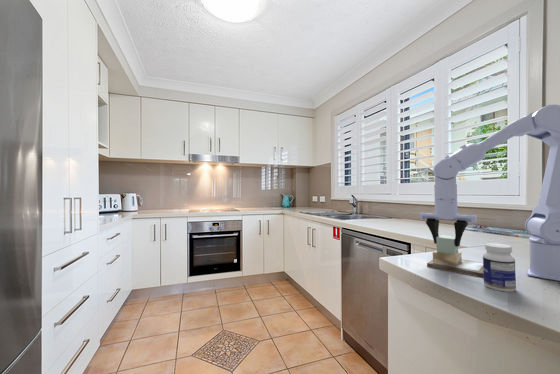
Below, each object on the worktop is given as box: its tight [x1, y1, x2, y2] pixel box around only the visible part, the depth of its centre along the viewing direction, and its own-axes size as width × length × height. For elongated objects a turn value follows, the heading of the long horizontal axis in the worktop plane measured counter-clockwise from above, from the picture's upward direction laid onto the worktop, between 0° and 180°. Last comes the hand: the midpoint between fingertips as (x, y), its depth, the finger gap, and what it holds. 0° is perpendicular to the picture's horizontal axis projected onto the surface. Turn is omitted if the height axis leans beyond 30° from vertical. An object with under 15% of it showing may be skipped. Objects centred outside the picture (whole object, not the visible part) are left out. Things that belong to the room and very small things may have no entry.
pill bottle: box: [482, 242, 517, 293], centre depth 58 cm, size 6×6×10 cm
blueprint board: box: [426, 249, 484, 278], centre depth 74 cm, size 14×12×4 cm
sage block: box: [435, 234, 459, 255], centre depth 75 cm, size 4×4×4 cm
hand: (446, 244), depth 75 cm, fingers open, 5 cm apart
